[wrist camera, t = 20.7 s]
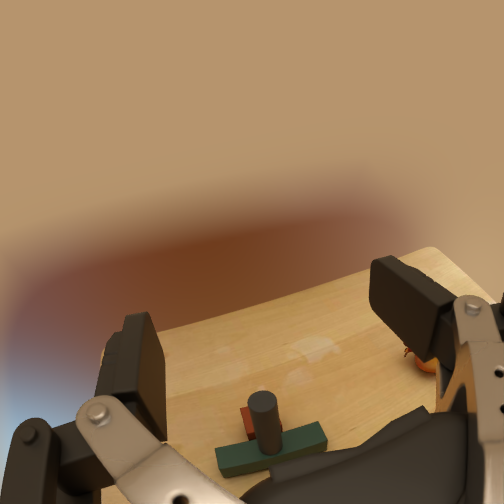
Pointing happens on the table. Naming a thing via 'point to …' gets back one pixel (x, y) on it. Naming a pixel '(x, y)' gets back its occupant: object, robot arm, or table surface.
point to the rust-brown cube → (250, 423)
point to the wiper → (269, 440)
